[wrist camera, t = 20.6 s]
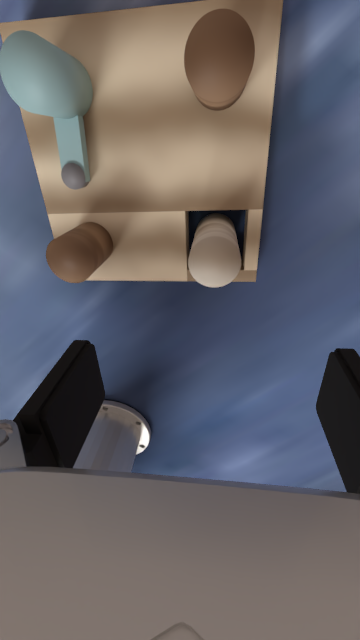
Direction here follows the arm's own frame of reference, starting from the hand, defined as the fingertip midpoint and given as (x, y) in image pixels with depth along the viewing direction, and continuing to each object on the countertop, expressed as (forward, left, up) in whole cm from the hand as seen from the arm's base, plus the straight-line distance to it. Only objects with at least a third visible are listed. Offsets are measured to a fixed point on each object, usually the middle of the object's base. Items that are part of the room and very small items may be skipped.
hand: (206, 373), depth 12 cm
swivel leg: (+10, +12, -18) cm, 23 cm away
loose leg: (0, 0, -21) cm, 21 cm away
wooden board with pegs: (+6, +6, -21) cm, 23 cm away
